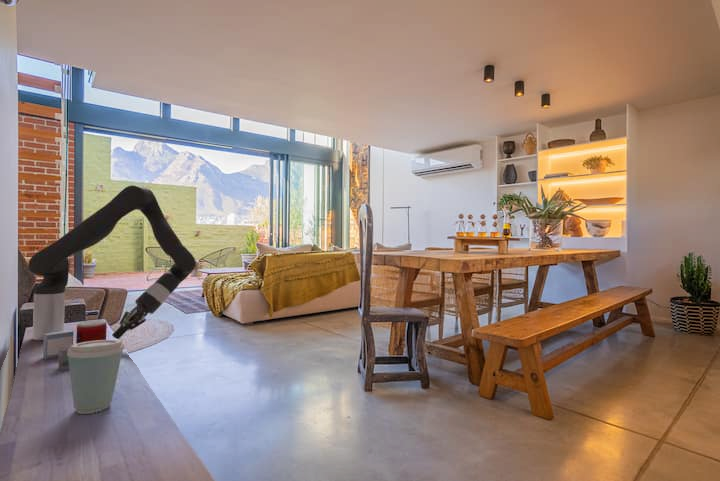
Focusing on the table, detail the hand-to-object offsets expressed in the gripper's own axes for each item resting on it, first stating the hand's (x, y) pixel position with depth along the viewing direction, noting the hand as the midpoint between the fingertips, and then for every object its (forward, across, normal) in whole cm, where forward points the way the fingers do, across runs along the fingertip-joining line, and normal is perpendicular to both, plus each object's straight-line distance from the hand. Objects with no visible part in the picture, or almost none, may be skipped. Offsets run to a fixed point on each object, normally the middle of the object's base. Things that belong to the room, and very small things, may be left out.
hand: (114, 337), depth 127 cm
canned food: (+8, 0, -1) cm, 8 cm away
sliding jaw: (+13, -11, -6) cm, 18 cm away
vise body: (+13, +8, -6) cm, 16 cm away
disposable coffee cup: (+18, +45, -10) cm, 49 cm away
